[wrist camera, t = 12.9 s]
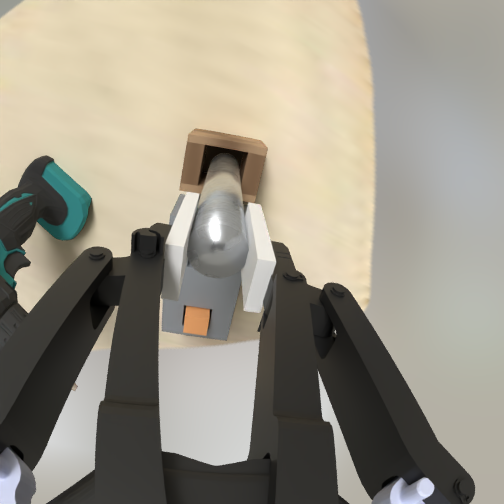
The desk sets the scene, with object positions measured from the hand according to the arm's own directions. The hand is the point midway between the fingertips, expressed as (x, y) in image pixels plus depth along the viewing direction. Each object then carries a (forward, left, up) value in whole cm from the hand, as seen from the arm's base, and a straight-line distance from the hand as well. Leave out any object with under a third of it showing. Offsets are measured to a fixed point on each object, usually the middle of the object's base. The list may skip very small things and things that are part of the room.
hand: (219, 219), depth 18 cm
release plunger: (0, -19, -18) cm, 26 cm away
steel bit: (0, 0, -14) cm, 14 cm away
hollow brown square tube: (0, 0, -19) cm, 19 cm away
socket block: (0, -14, -19) cm, 23 cm away
